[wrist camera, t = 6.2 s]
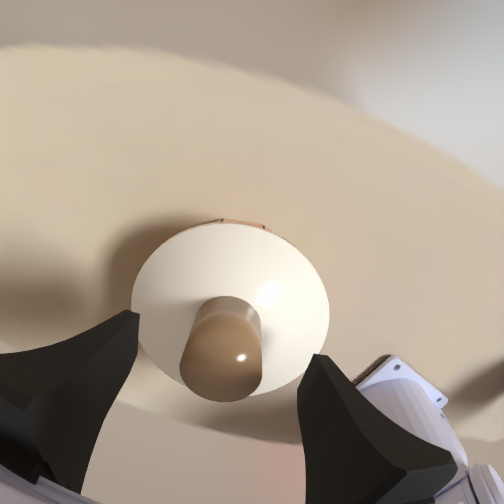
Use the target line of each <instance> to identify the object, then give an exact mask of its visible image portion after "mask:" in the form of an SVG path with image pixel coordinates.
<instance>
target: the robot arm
mask: <svg viewBox="0 0 504 504" xmlns="http://www.w3.org/2000/svg"><path fill="white" fill-rule="evenodd" d="M139 321H140V314H139V313H136V312H132V311H129V310H124V311H122V312H121V313H119V314H117V315H115V316H113V317H112V318H110V319H108V320H106V321H105V322H103V323H101V324H99V325H97V326H95V327H93V328H92V329H89V330H87V331H85V332H83V333H81V334H79V335H76V336H74V337H72V338H70V339H67V340H64V341H62V342H59V343H56V344H53V345H49V346H46V347H41V348H37V349H33V350H29V351H23V352H16V353H6V354H0V504H102V503H99V502H97V501H94V500H91V499H89V498H87V497H84V496H82V495H80V494H81V490H82V486H83V482H84V478H85V474H86V471H87V467H88V464H89V461H90V457H91V454H92V451H93V448H94V445H95V443H96V440H97V437H98V434H99V432H100V429H101V427H102V424H103V421H104V419H105V417H106V415H107V413H108V411H109V409H110V407H111V406H112V404H113V402H114V400H115V398H116V397H117V395H118V393H119V391H120V390H121V388H122V386H123V384H124V382H125V381H126V379H127V377H128V375H129V373H130V371H131V368H132V366H133V364H134V361H135V358H136V356H137V350H138V334H139ZM396 365H397V366H396ZM395 366H396V367H395ZM447 403H448V398H447V397H446V396H445V395H444V394H442V393H441V392H440V391H439V390H437V389H436V388H435V387H434V386H433V385H431V384H430V383H429V382H428V381H426V380H425V379H424V378H423V377H421V376H420V375H419V374H418V373H417V372H415V371H414V370H413V369H412V368H410V367H409V366H408V365H407V364H405V363H404V362H403V361H402V360H400V359H399V358H398V357H397V356H391V357H389V358H388V359H387V360H385V361H384V362H383V363H382V364H381V365H380V366H379V367H378V368H377V369H375V370H374V371H373V372H372V373H371V374H370V375H369V376H367V377H366V378H365V379H364V380H363V381H362V382H360V383H359V384H358V385H357V386H356V387H355V386H354V385H353V384H352V383H351V382H350V380H349V379H348V378H347V377H346V376H345V375H344V373H343V372H342V371H341V370H340V369H339V368H338V366H337V365H336V364H335V363H334V362H333V361H332V360H331V359H330V358H329V357H328V356H327V355H320V354H313V356H312V358H311V361H310V363H309V365H308V367H307V370H306V372H305V374H304V376H303V378H302V380H301V383H300V385H299V387H298V389H297V410H298V417H299V423H300V429H301V435H302V441H303V447H304V454H305V463H306V464H305V465H306V503H305V504H504V484H503V482H502V481H501V479H500V477H499V476H498V475H497V473H496V472H495V470H494V469H493V468H492V466H491V465H489V464H481V463H475V464H474V465H473V466H471V467H468V466H467V456H466V453H465V451H464V449H463V447H462V446H461V444H460V442H459V440H458V438H457V437H456V435H455V433H454V431H453V430H452V428H451V426H450V424H449V423H448V421H447V419H446V417H445V416H444V414H443V412H442V411H441V408H443V407H444V406H445V405H446V404H447Z"/></svg>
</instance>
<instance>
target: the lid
mask: <svg viewBox="0 0 504 504" xmlns="http://www.w3.org/2000/svg"><path fill="white" fill-rule="evenodd" d="M131 311H132V312H136V313H139V314H140V321H139V334H138V340H139V342H140V344H141V346H142V348H143V349H144V351H145V352H146V354H147V355H148V356H149V358H150V359H151V360H152V361H153V362H154V363H155V365H156V366H157V367H158V368H160V369H161V370H162V371H163V372H164V373H165V374H167V375H168V376H169V377H171V378H172V379H174V380H175V381H177V382H179V383H181V384H182V385H184V386H186V387H188V388H189V389H190V390H191V391H193V392H194V393H195V394H197V395H199V396H201V397H203V398H205V399H208V400H212V401H217V402H232V401H237V400H241V399H243V398H246V397H247V396H254V395H259V394H263V393H266V392H269V391H273V390H275V389H277V388H279V387H282V386H284V385H285V384H287V383H289V382H291V381H292V380H294V379H295V378H296V377H298V376H299V375H300V374H301V373H303V372H304V371H305V370H306V369H307V367H308V365H309V363H310V361H311V358H312V356H313V354H318V353H319V351H320V350H321V348H322V346H323V343H324V341H325V338H326V334H327V330H328V325H329V304H328V299H327V295H326V291H325V289H324V286H323V284H322V281H321V279H320V277H319V275H318V273H317V272H316V270H315V268H314V267H313V265H312V264H311V262H310V261H309V260H308V259H307V257H306V256H305V255H304V254H303V253H302V252H301V251H300V250H299V249H298V248H297V247H296V246H295V245H293V244H292V243H290V242H289V241H288V240H286V239H285V238H283V237H281V236H279V235H278V234H276V233H274V232H272V231H269V230H267V229H264V228H261V227H259V226H255V225H250V224H246V223H238V222H213V223H207V224H201V225H198V226H195V227H192V228H188V229H186V230H184V231H182V232H180V233H178V234H176V235H174V236H173V237H171V238H170V239H168V240H167V241H165V242H164V243H163V244H162V245H161V246H160V247H159V248H157V249H156V250H155V251H154V252H153V253H152V254H151V256H150V257H149V258H148V259H147V261H146V262H145V263H144V265H143V266H142V268H141V270H140V272H139V273H138V275H137V278H136V281H135V283H134V286H133V291H132V296H131Z"/></svg>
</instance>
